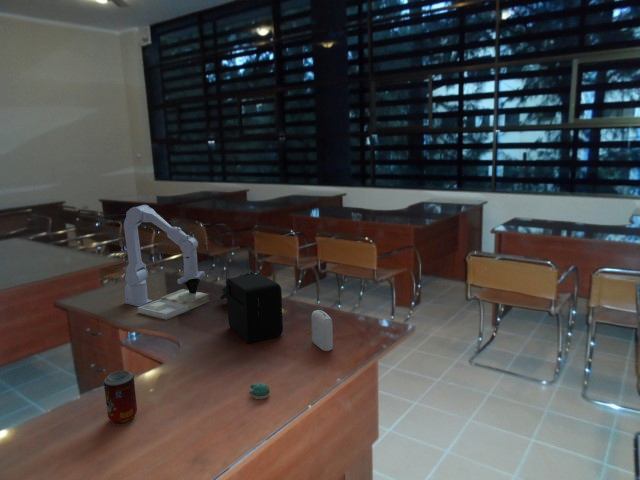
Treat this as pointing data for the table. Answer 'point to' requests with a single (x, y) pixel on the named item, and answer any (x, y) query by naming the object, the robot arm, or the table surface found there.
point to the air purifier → (254, 307)
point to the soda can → (120, 397)
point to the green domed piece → (259, 391)
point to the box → (164, 310)
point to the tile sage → (186, 297)
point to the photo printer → (322, 330)
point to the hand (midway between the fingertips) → (192, 295)
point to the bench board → (199, 300)
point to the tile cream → (157, 306)
